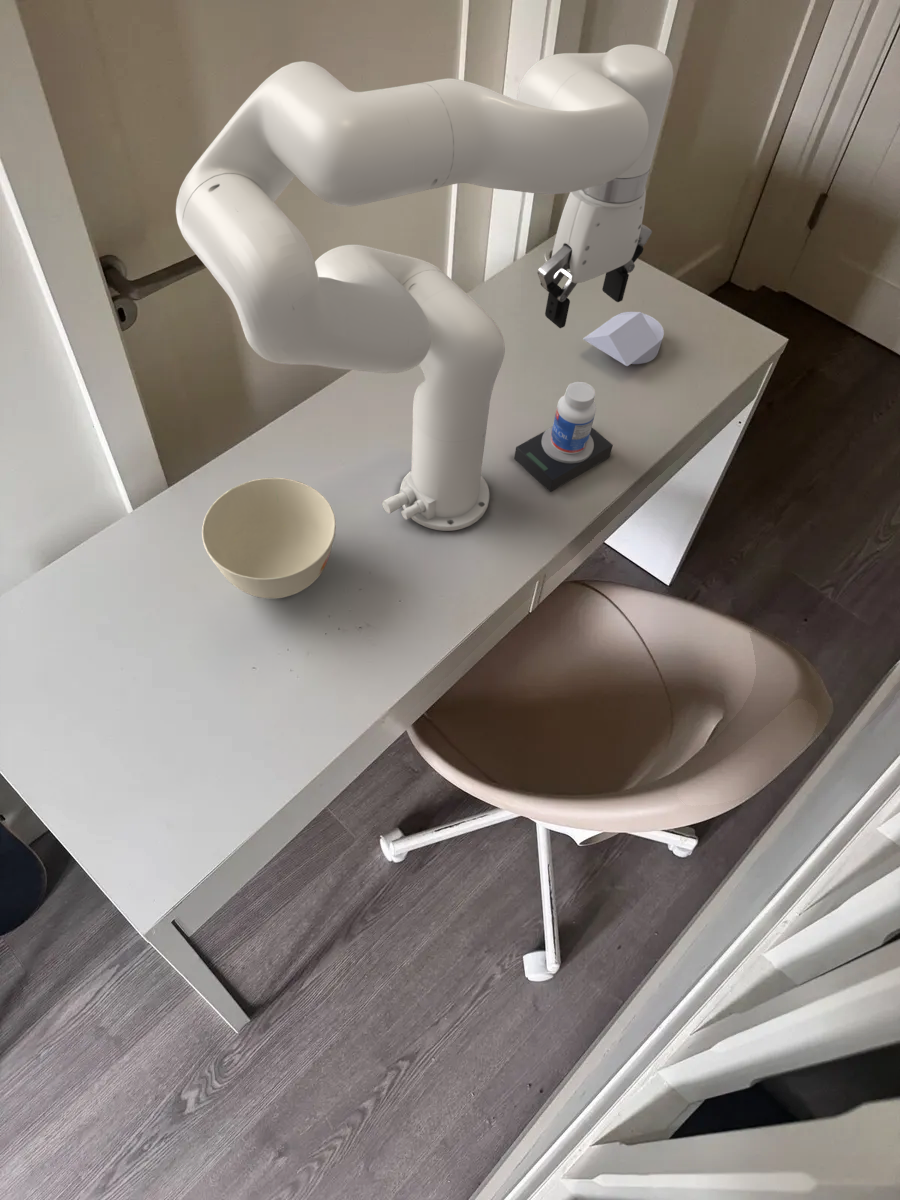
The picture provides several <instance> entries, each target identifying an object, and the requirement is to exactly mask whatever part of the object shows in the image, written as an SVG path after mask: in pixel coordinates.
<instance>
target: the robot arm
mask: <svg viewBox="0 0 900 1200" xmlns="http://www.w3.org/2000/svg"><path fill="white" fill-rule="evenodd" d="M673 79H674V66H673V64H672V62H671V60H670V58H669V57H668V56H667V55H666V54H665V53H664V52H662V51H660V50H658V49H656V48H653V47H651V46H647V45H643V44H633V43H629V44H621V45H618V46H615V47H612V48H611V49H609V50H607V52H606V51H605V52H565V53H564V52H563V53H556V54H551V55H548V56H545V57H543V58H541V59H539V60H537V62H535V63H534V64H532V66H530V68H528V70H527V71H526V72H525V74H524V75H523V77H522V78H521V80H520V83H519V85H518V88H517V94H516V99H514V98H512V97H510V96H507V95H506V94H503V93H500V92H498V91H496V90H493V89H492V88H489V87H486V86H483V85H480V84H477V83H474V82H470V81H467V80H463V79H458V78H451V77H449V78H446V77H445V78H441V79H435V80H430V81H423V82H418V83H417V82H416V83H411V84H405V85H399V86H392V87H386V88H377V89H373V90H366V91H353V90H351V89H349V88H348V87H346V86H345V85H344V84H343V83H342V82H341V81H340V80H339V79H338V78H336V77H335V76H333V75H332V74H331V73H330V72H329V71H328V70H327V69H326V68H324V67H323V66H321V65H320V64H317V63H315V62H312V61H305V60H301V61H294V62H291V63H288V64H286V65H284V66H282V67H280V68H279V69H277V70H275V72H273V73H272V74H270V75H269V76H268V77H267V78H266V79H264V81H263V82H261V83H260V84H259V85H258V87H256V88H255V90H254V91H253V92H252V93H251V94H250V95H249V96H248V97H247V99H245V101H244V102H243V103H242V104H241V106H239V108H238V109H237V110H236V111H235V112H234V114H233V115H232V116H231V118H230V119H229V120H228V122H227V123H226V124H225V125H224V127H223V128H222V129H221V130H220V132H219V133H218V134H217V135H216V137H215V138H214V139H213V141H212V142H211V143H210V144H209V145H208V147H207V148H206V149H205V150H204V151H203V152H202V154H201V155H200V157H199V158H198V159H197V161H196V162H195V163H194V165H193V166H192V168H191V169H190V170H189V172H187V174H186V176H185V178H184V180H183V181H182V183H181V185H180V187H179V190H178V194H177V197H176V201H175V202H176V203H175V217H176V223H177V225H178V228H179V231H180V233H181V235H182V237H183V239H184V240H185V242H186V244H187V245H188V246H189V248H190V249H191V250H192V252H193V253H194V254H195V255H196V257H198V259H199V260H200V261H201V262H202V264H203V265H204V266H205V268H207V270H208V271H209V272H210V274H211V275H212V277H213V278H214V279H215V280H216V282H217V283H218V284H219V285H220V287H221V288H222V290H224V292H225V293H226V295H227V296H228V297H229V299H230V300H231V303H232V304H233V307H234V309H235V312H236V314H237V316H238V319H239V321H240V325H241V328H242V331H243V333H244V337H245V340H246V342H247V344H248V345H249V346H250V349H252V350H253V352H255V353H256V354H257V355H258V356H259V357H260V358H262V359H264V360H266V361H268V362H271V363H275V364H282V365H303V366H304V365H306V366H307V365H308V366H320V367H325V368H331V369H340V370H349V371H358V372H367V373H374V374H400V373H404V372H407V371H409V370H412V369H414V368H415V367H417V366H419V368H420V369H421V371H422V373H423V376H424V377H423V378H424V380H422V382H420V384H419V385H418V386H417V388H416V390H415V392H414V397H413V402H412V435H411V436H412V439H411V441H412V443H411V470H409V471H408V472H407V473H406V474H405V476H404V478H403V479H402V481H401V484H400V486H399V487H400V489H399V492H398V493H397V494H395V495H394V494H393V495H391V496H390V497H387V498H386V499H384V500H382V502H381V504H382V508H383V510H384V511H385V513H387V515H388V514H391V513H393V512H395V511H397V510H399V509H401V507H402V509H401V511H400V513H401V516H402V518H403V519H404V520H405V521H407V520H409V519H411V520H412V521H414V522H415V523H417V524H419V525H421V526H423V527H425V528H427V529H431V530H436V531H443V532H446V531H457V530H462V529H465V528H468V527H470V526H472V525H473V524H476V523H477V522H478V521H479V520H480V519H481V518H482V517H483V516H484V515H485V513H486V511H487V509H488V507H489V502H490V489H489V485H488V482H487V481H486V479H485V478H484V476H483V475H482V469H483V460H484V453H485V447H486V446H485V444H486V436H487V429H488V420H489V413H490V412H489V411H490V404H491V400H492V399H491V398H492V395H493V394H492V393H493V390H494V385H495V383H496V380H497V377H498V375H499V372H500V370H501V368H502V365H503V361H504V358H505V354H506V344H505V343H506V342H505V339H504V336H503V334H502V330H501V329H500V328H499V326H498V325H497V323H496V322H495V320H494V319H493V318H492V317H491V315H489V313H488V312H487V311H486V310H485V309H484V308H483V307H482V306H481V305H480V304H479V303H477V301H476V300H474V299H473V298H472V297H471V296H470V295H469V294H468V293H466V292H465V291H464V290H463V289H462V288H461V287H460V285H458V284H457V283H455V281H453V279H451V278H450V277H449V275H447V274H446V273H445V272H444V271H443V270H441V268H439V267H438V266H436V265H434V264H433V263H431V262H429V261H427V260H423V259H421V258H417V257H413V256H409V255H405V254H401V253H396V252H393V251H388V250H384V249H380V248H376V247H371V246H368V245H363V244H344V245H340V246H339V245H338V246H336V247H334V248H331V249H329V250H328V251H326V252H324V253H323V254H321V255H320V256H319V257H318V258H317V259H314V256H313V253H312V250H311V248H310V245H309V243H308V242H307V240H306V239H305V238H306V237H304V235H303V234H302V232H301V231H300V229H299V228H298V227H297V226H296V225H295V224H294V223H293V222H292V221H291V219H290V218H289V217H288V216H287V215H286V214H285V213H284V212H283V210H282V209H281V208H280V207H279V206H278V204H276V203H275V202H276V201H277V199H279V197H280V196H281V194H282V193H283V192H284V191H285V189H286V188H287V187H288V186H289V185H290V184H291V182H292V181H293V179H294V178H297V179H298V180H299V181H300V183H302V184H303V185H304V186H305V187H306V188H307V189H308V190H309V191H310V192H311V193H312V194H314V195H315V196H316V197H318V198H319V199H320V200H322V201H324V202H326V203H328V204H330V205H334V206H337V207H345V208H347V207H356V206H357V207H358V206H362V205H363V206H364V205H367V204H372V203H376V202H380V201H385V200H390V199H394V198H398V197H402V196H408V195H412V194H415V193H421V192H426V191H429V190H434V189H438V188H443V187H448V186H452V185H458V184H470V185H474V186H478V187H483V188H489V189H495V190H502V191H513V192H521V193H529V194H538V195H559V194H562V195H563V194H568V193H569V194H568V197H567V199H566V200H565V201H566V202H565V204H564V207H563V210H562V213H561V217H560V219H559V223H558V227H557V230H556V234H555V238H554V242H553V248H552V251H551V257H550V258H549V259H548V260H547V261H546V262H544V263H543V264H542V265H541V266H540V267H539V268H538V270H537V276H538V279H539V282H540V286H541V287H542V288H543V289H544V290H545V291H546V292H548V294H547V300H546V306H545V312H544V315H545V317H546V318H547V319H548V320H549V321H550V322H551V323H553V325H555V326H556V327H557V328H559V329H562V328H565V326H566V323H567V319H568V314H569V309H570V304H571V300H570V299H569V298H568V297H569V296H570V294H571V293H572V291H573V290H574V289H575V287H576V286H577V284H581V283H585V282H588V281H590V280H593V279H595V278H598V277H600V276H603V275H604V280H603V285H602V289H601V290H602V292H603V293H604V294H606V295H607V296H608V297H609V298H611V300H613V301H615V302H616V303H620V302H622V301H624V296H625V292H626V288H627V284H628V280H629V277H630V273H632V272H633V271H634V270H635V267H636V265H635V262H636V261H637V260H638V258H640V256H641V255H642V254H643V252H644V246H646V244H647V242H648V240H649V239H650V237H651V235H652V233H653V230H652V229H650V228H649V227H648V226H647V225H645V224H643V221H644V220H643V219H644V213H645V207H646V197H647V183H648V178H649V175H650V172H651V171H650V170H651V167H652V163H653V159H654V155H655V151H656V147H657V143H658V140H659V135H660V132H661V127H662V124H663V120H664V117H665V113H666V108H667V105H668V99H669V96H670V93H671V88H672V84H673ZM568 269H569V270H568ZM564 276H565V278H567V280H566V283H564V285H563V286H562V287H560V285H559V283H560V282H561V281H562V279H563V278H564Z"/></svg>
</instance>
